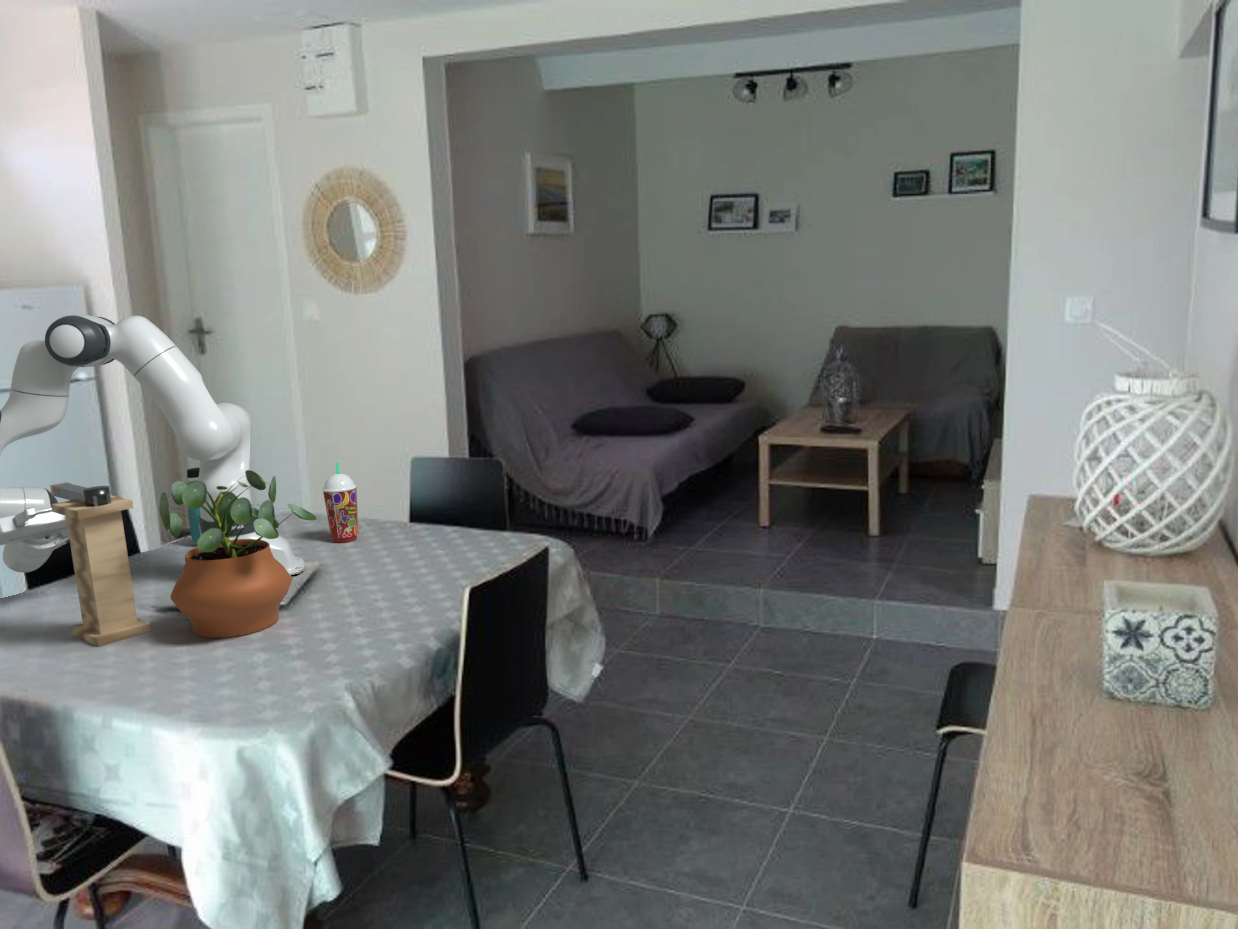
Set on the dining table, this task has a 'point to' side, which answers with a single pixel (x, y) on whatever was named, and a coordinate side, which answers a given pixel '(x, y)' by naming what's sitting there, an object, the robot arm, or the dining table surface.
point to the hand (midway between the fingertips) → (56, 506)
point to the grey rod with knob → (82, 494)
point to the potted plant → (229, 561)
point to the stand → (102, 571)
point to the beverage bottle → (194, 523)
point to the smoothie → (341, 507)
